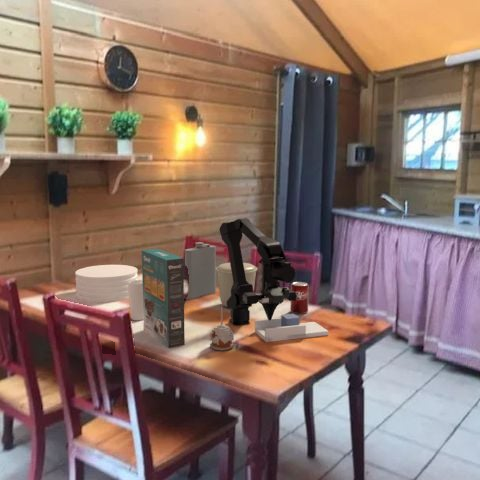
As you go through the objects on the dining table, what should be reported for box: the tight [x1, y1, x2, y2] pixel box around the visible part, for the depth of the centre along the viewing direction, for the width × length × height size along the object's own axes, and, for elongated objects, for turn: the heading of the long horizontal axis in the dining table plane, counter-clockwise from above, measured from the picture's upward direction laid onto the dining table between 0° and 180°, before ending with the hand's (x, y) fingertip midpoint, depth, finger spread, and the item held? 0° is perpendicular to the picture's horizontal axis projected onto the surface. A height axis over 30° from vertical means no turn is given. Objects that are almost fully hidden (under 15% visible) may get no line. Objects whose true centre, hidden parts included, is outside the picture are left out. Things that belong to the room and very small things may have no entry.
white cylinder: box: [128, 279, 144, 322], centre depth 202 cm, size 7×7×15 cm
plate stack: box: [74, 264, 139, 303], centre depth 240 cm, size 28×28×12 cm
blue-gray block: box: [281, 313, 301, 327], centre depth 186 cm, size 5×5×5 cm
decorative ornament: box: [209, 303, 235, 351], centre depth 172 cm, size 8×8×15 cm
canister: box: [215, 262, 258, 308], centre depth 221 cm, size 18×18×21 cm
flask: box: [184, 241, 217, 300], centre depth 237 cm, size 17×5×25 cm, turn 137°
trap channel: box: [254, 317, 329, 343], centre depth 187 cm, size 24×11×4 cm, turn 108°
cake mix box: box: [141, 248, 186, 349], centre depth 180 cm, size 22×6×30 cm, turn 32°
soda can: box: [290, 281, 310, 315], centre depth 213 cm, size 7×7×12 cm
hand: (269, 319), depth 184 cm, fingers closed
